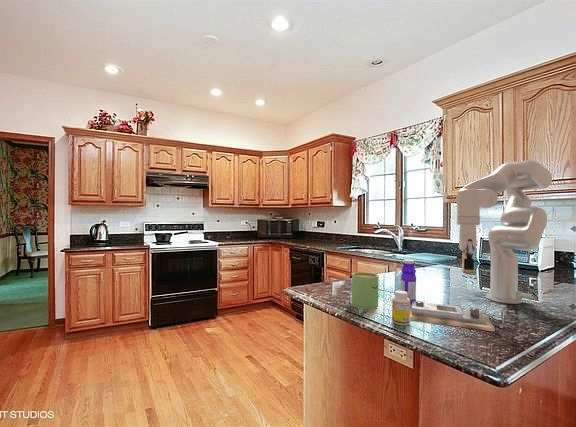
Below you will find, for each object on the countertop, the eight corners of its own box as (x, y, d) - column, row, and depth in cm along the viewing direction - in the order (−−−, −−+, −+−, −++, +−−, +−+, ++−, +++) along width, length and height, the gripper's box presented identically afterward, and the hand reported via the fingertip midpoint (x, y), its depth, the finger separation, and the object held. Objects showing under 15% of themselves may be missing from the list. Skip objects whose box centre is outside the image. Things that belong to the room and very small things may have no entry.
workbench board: (486, 317, 107) (486, 315, 107) (494, 331, 95) (494, 328, 95) (407, 307, 118) (407, 305, 118) (405, 318, 105) (405, 315, 105)
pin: (473, 272, 119) (473, 251, 119) (474, 274, 115) (474, 253, 115) (461, 271, 121) (461, 251, 121) (462, 273, 117) (462, 252, 117)
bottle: (417, 305, 121) (418, 261, 121) (402, 304, 122) (402, 260, 122) (413, 300, 128) (414, 258, 128) (399, 299, 130) (400, 258, 130)
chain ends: (481, 316, 106) (481, 306, 106) (485, 324, 98) (486, 314, 98) (412, 307, 115) (412, 298, 115) (411, 314, 107) (411, 304, 107)
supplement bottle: (395, 318, 105) (396, 289, 105) (412, 322, 101) (412, 291, 101) (389, 323, 101) (389, 291, 101) (406, 327, 97) (406, 295, 97)
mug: (374, 311, 113) (375, 278, 113) (347, 306, 119) (348, 275, 119) (383, 303, 124) (384, 273, 124) (358, 298, 130) (359, 270, 130)
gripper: (455, 220, 127) (455, 264, 127) (459, 221, 112) (459, 271, 112) (476, 220, 124) (476, 265, 124) (483, 221, 109) (483, 273, 109)
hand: (468, 268), depth 118 cm, fingers closed on pin, 4 cm apart
